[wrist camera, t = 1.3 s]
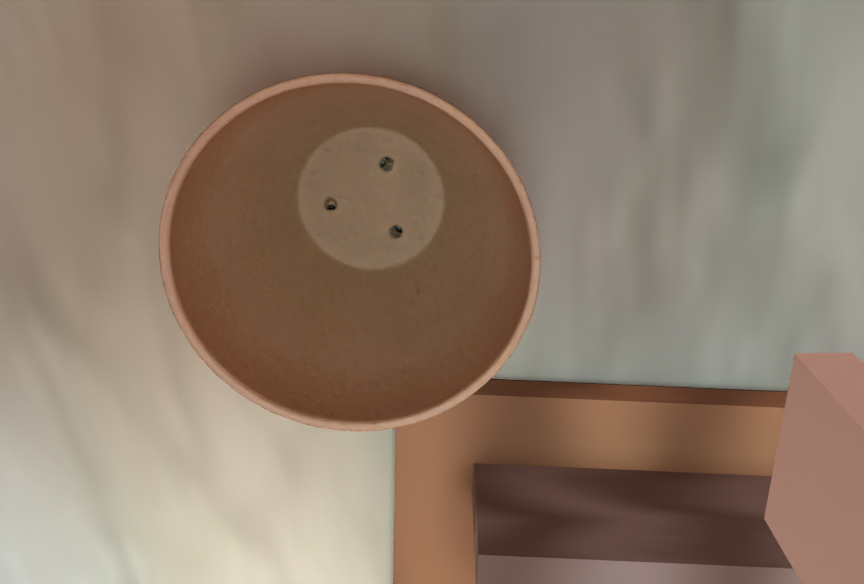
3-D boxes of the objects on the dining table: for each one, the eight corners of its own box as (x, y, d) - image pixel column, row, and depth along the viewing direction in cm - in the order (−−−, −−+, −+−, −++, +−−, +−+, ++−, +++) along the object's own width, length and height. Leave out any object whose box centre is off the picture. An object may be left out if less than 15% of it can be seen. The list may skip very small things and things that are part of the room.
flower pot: (388, 375, 30) (370, 492, 23) (174, 203, 27) (84, 279, 20) (579, 189, 27) (621, 261, 20) (357, -24, 24) (322, -21, 17)
